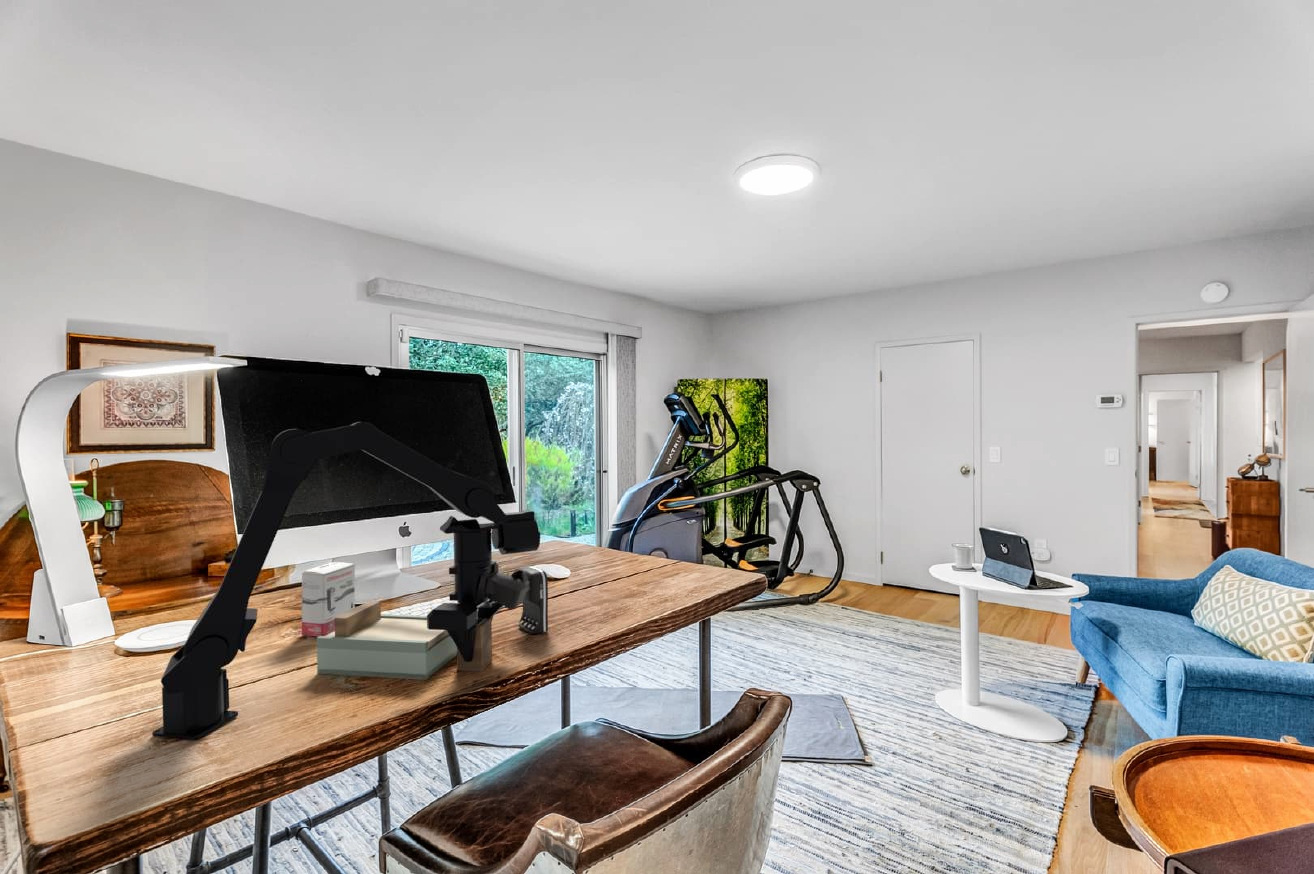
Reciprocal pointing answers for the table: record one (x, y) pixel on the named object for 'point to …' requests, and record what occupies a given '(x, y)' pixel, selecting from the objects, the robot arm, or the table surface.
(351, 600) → the ink box
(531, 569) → the black handheld device
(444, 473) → the robot arm
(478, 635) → the small brown rectangular block
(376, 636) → the lid
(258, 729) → the table surface
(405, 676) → the pale green tray
